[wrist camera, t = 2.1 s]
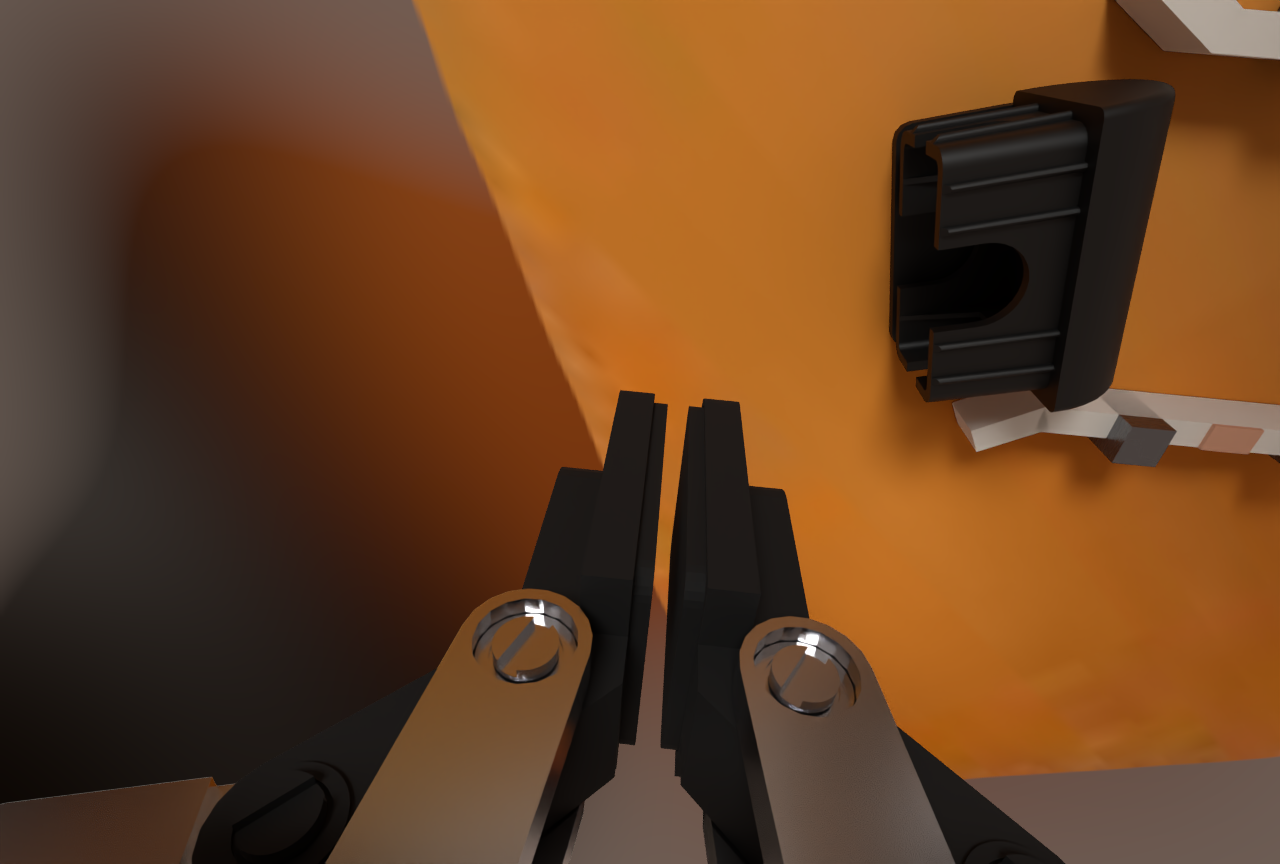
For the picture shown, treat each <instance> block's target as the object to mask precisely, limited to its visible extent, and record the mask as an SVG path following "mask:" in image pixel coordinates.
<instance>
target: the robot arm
mask: <svg viewBox="0 0 1280 864" xmlns="http://www.w3.org/2000/svg"><path fill="white" fill-rule="evenodd" d="M654 398H655V394H653V393H643V392H632V391H622V390H620V393H619V398H618V403H617V407H616V412H615V417H614V421H613V426H612V431H611V435H610V440H609V445H608V450H607V454H606V459H605V464H604V468H603V471H598V470H588V469H577V468H568V467H562V468H561V469H560V471H559V473H558V476H557V479H556V482H555V486H554V489H553V492H552V495H551V498H550V502H549V505H548V508H547V511H546V514H545V518H544V521H543V524H542V527H541V531H540V534H539V537H538V540H537V543H536V546H535V550H534V553H533V556H532V559H531V563H530V566H529V569H528V572H527V575H526V578H525V582H524V585H523V588H522V590H515V591H509V592H506V593H503V594H501V595H499V596H496V597H493V598H490V599H489V600H488V601H486V602H485V603H483V604H482V605H481V606H479V607H478V608H476V609H475V610H474V611H473V612H472V614H471V615H470V616H469V617H468V619H467V620H466V621H465V622H464V623H463V625H462V627H461V628H460V630H459V632H458V634H457V635H456V637H455V639H454V641H453V642H452V644H451V646H450V648H449V649H448V651H447V653H446V654H445V656H444V658H443V660H442V661H441V663H440V665H439V667H438V668H437V669H435V670H433V671H431V672H429V673H428V674H426V675H424V676H422V677H420V678H418V679H417V680H415V681H413V682H411V683H409V684H408V685H406V686H404V687H402V688H401V689H398V690H397V691H395V692H393V693H391V694H389V695H388V696H386V697H384V698H382V699H380V700H379V701H377V702H375V703H373V704H371V705H369V706H368V707H366V708H364V709H362V710H360V711H359V712H357V713H355V714H353V715H351V716H349V717H348V718H346V719H344V720H342V721H340V722H339V723H337V724H335V725H333V726H331V727H329V728H328V729H326V730H324V731H322V732H320V733H319V734H317V735H315V736H313V737H311V738H310V739H308V740H306V741H304V742H302V743H300V744H299V745H297V746H295V747H293V748H291V749H289V750H288V751H286V752H284V753H282V754H280V755H279V756H277V757H275V758H273V759H271V760H269V761H268V762H266V763H264V764H262V765H261V766H259V767H258V768H256V769H255V770H253V771H252V772H251V773H249V774H248V775H246V776H245V777H243V778H242V779H240V780H239V781H238V782H237V783H236V784H231V785H222V786H216V784H215V782H214V780H213V778H212V777H207V778H199V779H192V780H184V781H176V782H168V783H161V784H152V785H145V786H136V787H128V788H121V789H113V790H105V791H97V792H90V793H81V794H74V795H65V796H57V797H50V798H42V799H34V800H27V801H19V802H10V803H4V804H0V864H569V862H570V859H571V855H572V851H573V848H574V844H575V841H576V837H577V833H578V830H579V827H580V823H581V820H582V816H583V811H584V803H585V800H586V799H587V798H589V797H590V796H591V795H592V794H594V793H595V792H596V791H597V790H598V789H600V788H601V787H602V786H604V785H605V784H606V783H608V782H609V781H610V780H611V779H612V778H614V776H615V769H616V765H617V756H618V747H619V743H620V744H629V745H635V742H636V733H637V724H638V715H639V706H640V697H641V689H642V680H643V671H644V662H645V653H646V645H647V635H648V627H649V618H650V609H651V600H652V591H653V581H654V570H655V558H656V545H657V533H658V520H659V508H660V495H661V482H662V470H663V457H664V444H665V432H666V419H667V407H668V404H661V403H654ZM663 687H664V688H663V706H662V725H661V748H664V749H673V750H676V752H675V776H679V777H681V786H682V787H683V788H684V789H685V790H686V791H687V793H688V794H689V795H690V796H691V797H692V798H693V799H694V800H695V802H696V803H697V804H698V805H699V806H700V807H701V808H702V810H703V832H704V840H705V847H706V855H707V862H708V864H1065V863H1064V862H1063V861H1062V860H1061V859H1060V858H1059V857H1058V856H1057V855H1055V854H1054V853H1053V852H1052V851H1050V850H1049V849H1048V848H1047V847H1045V846H1044V845H1043V844H1042V843H1041V842H1039V841H1038V840H1037V839H1036V838H1034V837H1033V836H1032V835H1031V834H1029V833H1028V832H1027V831H1026V830H1024V829H1023V828H1022V827H1021V826H1019V825H1018V824H1017V823H1016V822H1015V821H1013V820H1012V819H1011V818H1009V816H1007V815H1006V814H1005V813H1004V812H1002V811H1001V810H1000V809H999V808H997V807H996V806H995V805H994V804H992V803H991V802H990V801H989V800H987V799H986V798H985V797H984V796H983V795H981V794H980V793H979V792H978V791H976V790H975V789H974V788H973V787H972V786H970V785H969V784H968V783H967V782H965V781H964V780H963V779H962V778H960V777H959V776H958V775H957V774H955V773H954V772H953V771H952V770H951V769H949V768H948V767H947V766H946V765H944V764H943V763H942V762H941V761H939V760H938V759H937V758H936V757H935V756H933V755H932V754H931V753H930V752H928V751H927V750H926V749H925V748H923V747H922V746H921V745H920V744H919V743H917V742H916V741H915V740H914V739H912V738H911V737H910V736H909V735H907V734H906V733H905V732H904V731H902V730H901V729H900V728H899V727H898V726H896V723H895V721H894V719H893V716H892V714H891V712H890V709H889V707H888V705H887V702H886V700H885V698H884V695H883V693H882V691H881V688H880V686H879V684H878V681H877V679H876V677H875V674H874V672H873V670H872V668H871V666H870V664H869V663H868V661H867V659H866V658H865V656H864V655H863V653H862V651H861V650H860V649H859V648H858V647H857V646H856V645H855V644H854V643H853V642H851V641H850V640H849V639H848V638H847V637H846V636H845V635H843V634H841V633H840V632H838V631H837V630H835V629H833V628H832V627H830V626H828V625H826V624H823V623H820V622H817V621H814V620H812V619H809V614H808V609H807V604H806V598H805V593H804V588H803V582H802V577H801V572H800V567H799V561H798V556H797V551H796V545H795V540H794V535H793V530H792V524H791V519H790V514H789V508H788V503H787V498H786V495H785V492H784V491H783V490H782V489H775V488H765V487H755V486H749V483H748V474H747V466H746V457H745V448H744V439H743V430H742V421H741V412H740V404H739V402H734V401H724V400H714V399H703V403H702V408H701V407H691V406H689V410H688V417H687V424H686V432H685V440H684V448H683V456H682V464H681V471H680V479H679V487H678V495H677V503H676V510H675V518H674V526H673V534H672V542H671V553H670V570H669V589H668V609H667V629H666V648H665V668H664V686H663Z"/></svg>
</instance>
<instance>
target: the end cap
mask: <svg viewBox="0 0 1280 864" xmlns="http://www.w3.org/2000/svg"><path fill="white" fill-rule="evenodd" d="M1174 101H1175V90H1174V88H1173V87H1172V86H1171V85H1169V84H1167V83H1164V82H1160V81H1154V80H1141V79H1123V80H1101V81H1087V82H1077V83H1067V84H1059V85H1051V86H1044V87H1037V88H1031V89H1025V90H1020V91H1017V92H1016V93H1015V95H1014V100H1013V103H1008V104H1002V105H996V106H991V107H985V108H980V109H974V110H969V111H963V112H958V113H952V114H947V115H941V116H936V117H931V118H925V119H920V120H914V121H909V122H907V123H904V124H902V125H901V126H900V127H899V128H898V129H897V130H896V131H895V134H894V137H893V146H892V203H891V260H890V317H889V331H890V334H891V337H892V338H893V340H894V341H895V342H896V348H897V354H898V357H899V359H900V361H901V363H902V364H903V366H904V368H905V369H906V371H915V370H923V369H928V372H927V376H922V377H916V387H917V389H918V391H919V392H920V394H921V396H922V397H923V399H924V400H925V402H935V401H944V400H952V399H961V398H969V397H978V396H987V395H995V394H1004V393H1013V392H1021V391H1031V392H1032V393H1033V394H1034V395H1035V396H1036V397H1037V399H1038V400H1039V401H1040V402H1041V403H1042V404H1043V405H1044V406H1045V407H1046V408H1047V409H1048V411H1049V412H1058V411H1064V410H1070V409H1073V408H1076V407H1080V406H1083V405H1086V404H1088V403H1090V402H1092V401H1094V400H1096V399H1098V398H1099V397H1100V396H1102V395H1103V394H1104V393H1105V392H1106V391H1107V390H1108V389H1109V387H1110V386H1111V384H1112V382H1113V378H1114V373H1115V369H1116V364H1117V360H1118V355H1119V351H1120V346H1121V342H1122V337H1123V333H1124V328H1125V323H1126V319H1127V314H1128V310H1129V305H1130V301H1131V296H1132V292H1133V287H1134V282H1135V278H1136V273H1137V269H1138V264H1139V260H1140V255H1141V251H1142V246H1143V242H1144V237H1145V232H1146V228H1147V223H1148V219H1149V214H1150V210H1151V205H1152V201H1153V196H1154V192H1155V187H1156V182H1157V178H1158V173H1159V169H1160V164H1161V160H1162V155H1163V151H1164V146H1165V142H1166V137H1167V132H1168V128H1169V123H1170V119H1171V114H1172V110H1173V105H1174Z"/></svg>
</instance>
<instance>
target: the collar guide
mask: <svg viewBox="0 0 1280 864" xmlns="http://www.w3.org/2000/svg"><path fill="white" fill-rule="evenodd" d="M1115 1H1116V2H1117V3H1118V4H1119V5H1120V6H1121V7H1122V8H1123V9H1124V10H1125V11H1126V12H1127V13H1128V14H1129V15H1130V17H1131V18H1132V19H1133V20H1134V21H1135V22H1136V23H1137V24H1138V25H1139V26H1140V27H1141V28H1142V29H1143V30H1144V31H1145V32H1146V33H1147V34H1148V35H1149V36H1150V37H1151V38H1152V39H1153V40H1154V41H1155V42H1156V44H1157V45H1158V46H1159V47H1160V48H1161V49H1162V50H1163V51H1171V52H1183V53H1195V54H1207V55H1219V56H1232V57H1244V58H1256V59H1268V60H1280V8H1279V10H1278V12H1275V11H1263V10H1250V9H1243V7H1242V6H1241V5H1240V4H1239V3H1238V2H1237V1H1236V0H1115ZM952 405H953V408H954V412H955V416H956V419H957V423H958V425H959V426H960V428H961V429H962V431H963V432H964V434H965V435H966V437H967V438H968V440H969V441H970V443H971V444H972V446H973V447H974V449H975V450H976V452H978V451H981V450H984V449H988V448H991V447H994V446H997V445H1001V444H1004V443H1007V442H1010V441H1013V440H1017V439H1020V438H1023V437H1026V436H1030V435H1033V434H1036V433H1039V432H1047V433H1057V434H1068V435H1078V436H1087V437H1088V438H1089V439H1090V440H1091V441H1092V442H1093V443H1094V444H1095V445H1096V446H1097V447H1098V448H1099V449H1100V451H1101V452H1102V453H1103V454H1104V455H1105V456H1106V457H1107V458H1108V459H1109V460H1110V461H1111V462H1112V463H1120V464H1130V465H1140V466H1150V467H1155V466H1156V465H1157V463H1158V462H1159V460H1160V458H1161V457H1162V455H1163V453H1164V452H1165V450H1166V448H1167V447H1168V445H1179V446H1190V447H1198V448H1199V449H1200V450H1207V451H1217V452H1227V453H1238V454H1249V453H1261V454H1268V455H1269V456H1271V457H1272V458H1273V459H1275V460H1276V461H1277V462H1279V463H1280V405H1273V404H1263V403H1252V402H1242V401H1231V400H1221V399H1211V398H1200V397H1190V396H1180V395H1169V394H1159V393H1148V392H1138V391H1128V390H1117V389H1108V390H1107V391H1106V392H1105V393H1104V394H1103V395H1102V396H1100V397H1099V398H1098V399H1096V400H1094V401H1092V402H1090V403H1088V404H1086V405H1083V406H1080V407H1076V408H1073V409H1070V410H1064V411H1058V412H1049V411H1048V409H1047V408H1046V407H1045V406H1044V405H1043V404H1042V403H1041V402H1040V401H1039V400H1038V399H1037V397H1036V396H1035V395H1034V394H1033V393H1032V392H1031V391H1021V392H1013V393H1004V394H995V395H987V396H978V397H969V398H965V399H962V400H959V401H956V402H953V403H952Z"/></svg>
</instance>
